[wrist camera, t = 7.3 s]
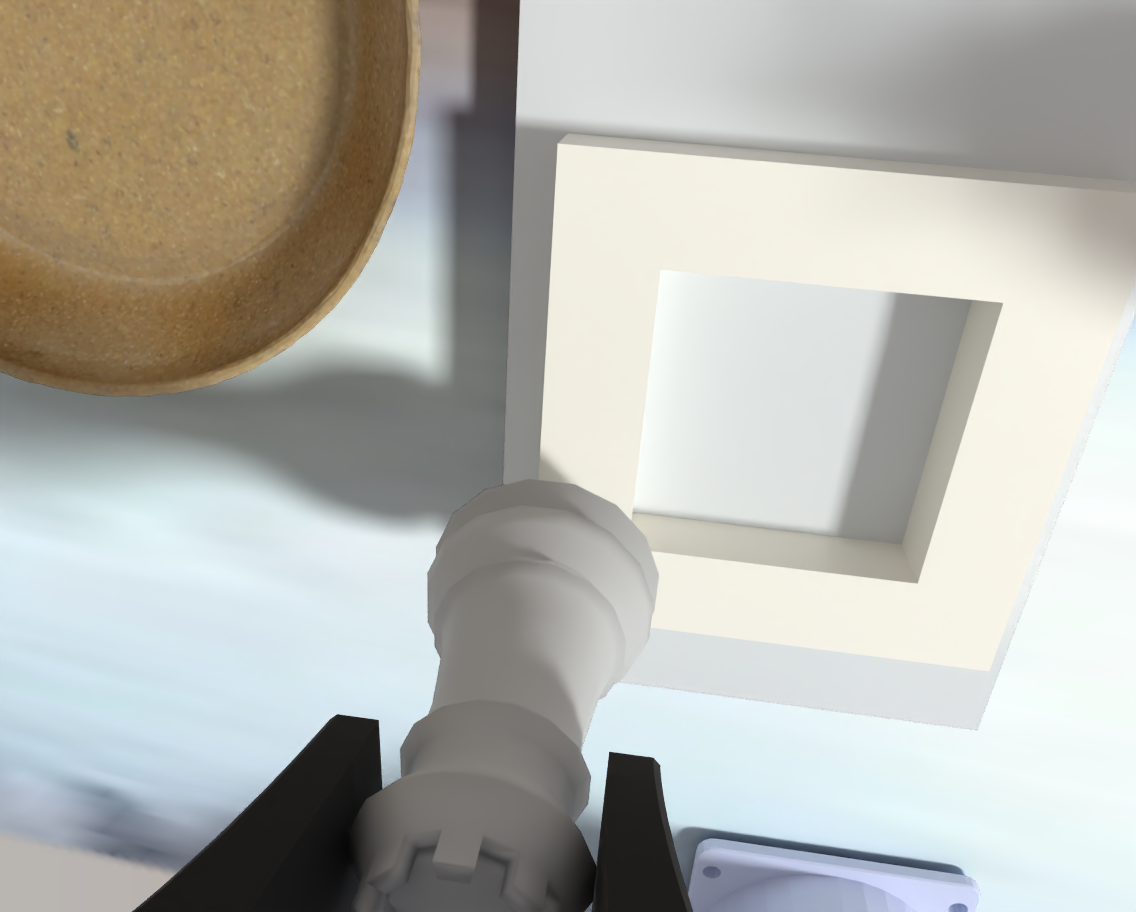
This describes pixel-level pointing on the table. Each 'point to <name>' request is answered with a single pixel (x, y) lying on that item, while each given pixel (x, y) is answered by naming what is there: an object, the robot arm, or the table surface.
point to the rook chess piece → (509, 706)
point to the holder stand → (823, 319)
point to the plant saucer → (191, 179)
